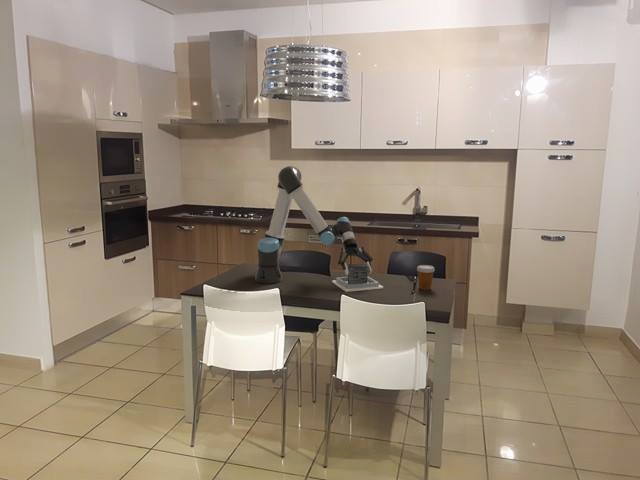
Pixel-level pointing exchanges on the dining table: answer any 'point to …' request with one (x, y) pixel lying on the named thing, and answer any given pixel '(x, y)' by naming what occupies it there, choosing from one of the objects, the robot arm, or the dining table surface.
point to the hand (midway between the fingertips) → (359, 273)
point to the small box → (357, 273)
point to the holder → (343, 284)
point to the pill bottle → (425, 276)
